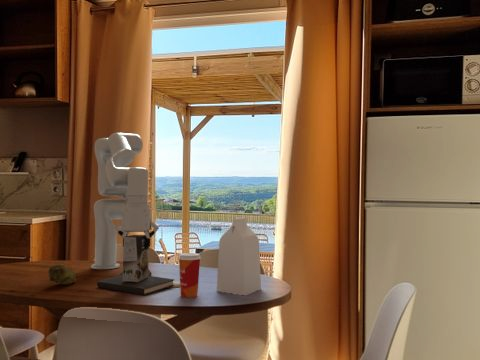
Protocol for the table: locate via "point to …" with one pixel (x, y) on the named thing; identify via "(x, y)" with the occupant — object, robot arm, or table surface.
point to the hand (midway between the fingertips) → (136, 248)
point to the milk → (239, 260)
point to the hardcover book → (136, 284)
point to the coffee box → (135, 258)
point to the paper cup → (189, 274)
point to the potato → (61, 274)
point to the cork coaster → (176, 285)
